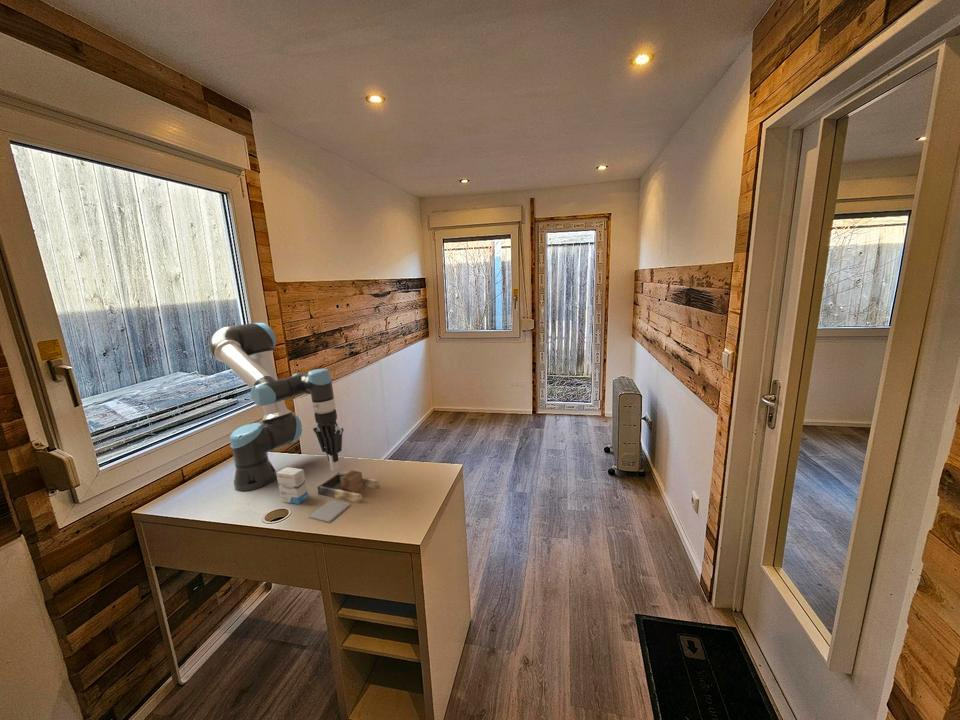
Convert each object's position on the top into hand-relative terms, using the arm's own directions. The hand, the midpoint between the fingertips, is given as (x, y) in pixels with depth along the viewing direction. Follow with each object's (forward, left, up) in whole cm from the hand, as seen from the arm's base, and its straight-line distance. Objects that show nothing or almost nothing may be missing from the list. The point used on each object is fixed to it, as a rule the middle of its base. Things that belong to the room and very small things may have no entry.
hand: (334, 469), depth 144 cm
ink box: (-10, -11, -9) cm, 17 cm away
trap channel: (+6, 0, -8) cm, 10 cm away
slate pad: (+9, -13, -8) cm, 18 cm away
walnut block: (+8, 0, -8) cm, 11 cm away
